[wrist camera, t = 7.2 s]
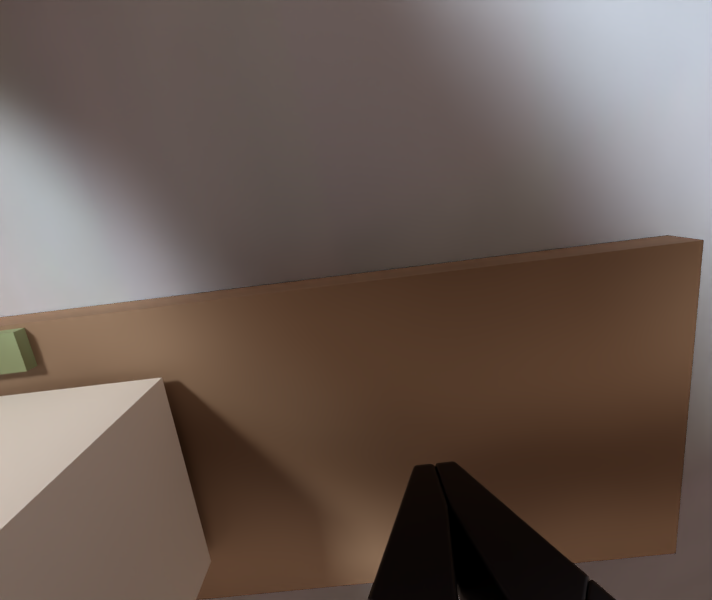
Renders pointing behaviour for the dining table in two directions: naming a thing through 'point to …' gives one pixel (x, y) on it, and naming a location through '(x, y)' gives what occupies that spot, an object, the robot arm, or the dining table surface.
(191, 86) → the dining table surface
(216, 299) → the gauge board
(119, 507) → the block
